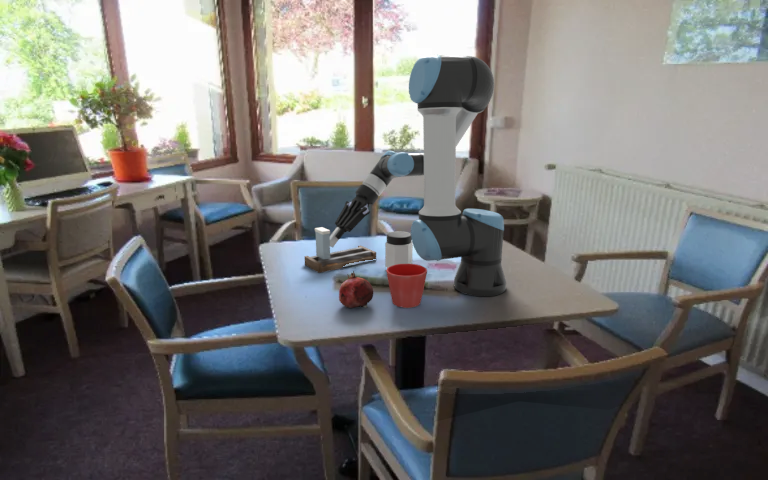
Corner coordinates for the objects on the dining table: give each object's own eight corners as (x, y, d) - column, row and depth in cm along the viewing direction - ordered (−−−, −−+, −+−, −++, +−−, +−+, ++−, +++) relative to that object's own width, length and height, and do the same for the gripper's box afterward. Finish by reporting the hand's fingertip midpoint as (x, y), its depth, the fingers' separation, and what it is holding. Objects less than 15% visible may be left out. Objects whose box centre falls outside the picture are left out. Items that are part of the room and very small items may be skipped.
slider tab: (323, 258, 168) (322, 227, 165) (331, 262, 164) (330, 230, 161) (315, 259, 167) (314, 228, 164) (323, 264, 163) (322, 231, 160)
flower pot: (389, 294, 142) (389, 262, 140) (427, 296, 141) (428, 263, 138) (383, 309, 132) (383, 274, 129) (425, 311, 131) (425, 276, 128)
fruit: (378, 310, 131) (378, 275, 129) (343, 315, 128) (343, 279, 125) (367, 298, 140) (367, 264, 137) (334, 302, 136) (333, 268, 134)
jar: (417, 270, 162) (417, 234, 159) (398, 275, 157) (398, 239, 154) (399, 263, 169) (399, 229, 166) (380, 268, 164) (380, 233, 161)
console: (360, 253, 180) (360, 245, 179) (376, 260, 172) (376, 252, 171) (304, 264, 167) (304, 256, 167) (318, 273, 160) (318, 264, 159)
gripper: (387, 200, 167) (346, 255, 163) (366, 194, 177) (327, 246, 173) (374, 186, 163) (331, 243, 158) (353, 180, 173) (312, 234, 169)
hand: (329, 244), depth 166 cm, fingers closed
